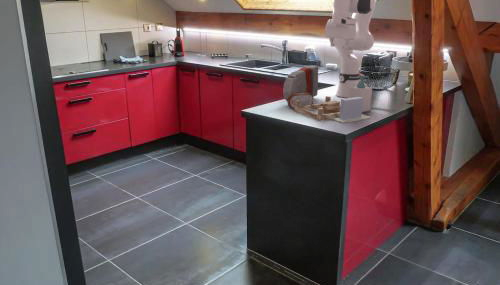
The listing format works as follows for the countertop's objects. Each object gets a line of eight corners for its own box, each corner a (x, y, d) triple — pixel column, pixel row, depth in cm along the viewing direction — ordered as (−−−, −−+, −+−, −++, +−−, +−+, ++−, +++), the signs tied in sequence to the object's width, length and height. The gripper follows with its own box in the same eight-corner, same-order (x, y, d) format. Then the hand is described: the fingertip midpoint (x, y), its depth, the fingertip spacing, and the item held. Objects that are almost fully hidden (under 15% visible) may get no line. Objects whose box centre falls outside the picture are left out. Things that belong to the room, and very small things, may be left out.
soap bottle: (359, 112, 225) (363, 77, 219) (347, 109, 232) (350, 74, 225) (370, 110, 230) (374, 75, 224) (357, 107, 236) (361, 73, 230)
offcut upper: (322, 108, 223) (322, 103, 222) (333, 106, 228) (333, 100, 227) (328, 110, 220) (328, 104, 219) (339, 107, 225) (339, 102, 224)
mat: (360, 115, 221) (361, 114, 220) (370, 118, 215) (370, 117, 215) (332, 119, 212) (332, 118, 211) (342, 123, 206) (342, 122, 206)
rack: (327, 106, 237) (328, 96, 235) (353, 115, 220) (354, 104, 218) (294, 111, 226) (295, 100, 224) (319, 121, 209) (320, 109, 207)
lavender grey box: (339, 118, 211) (340, 99, 208) (357, 115, 217) (359, 96, 214) (343, 120, 209) (345, 100, 205) (361, 117, 214) (363, 98, 211)
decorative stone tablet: (310, 63, 253) (281, 74, 232) (320, 65, 249) (291, 75, 228) (310, 95, 260) (281, 108, 239) (319, 96, 256) (291, 110, 235)
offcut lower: (320, 111, 229) (321, 106, 228) (341, 113, 225) (341, 108, 224) (319, 113, 224) (319, 108, 223) (339, 115, 221) (340, 110, 220)
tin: (311, 106, 237) (312, 91, 234) (313, 107, 234) (314, 92, 231) (286, 108, 232) (287, 93, 229) (289, 109, 229) (289, 94, 227)
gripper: (322, 18, 224) (321, 45, 228) (349, 21, 207) (347, 49, 211) (332, 18, 227) (330, 45, 231) (359, 20, 210) (356, 49, 214)
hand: (338, 47), depth 221 cm, fingers open, 8 cm apart
